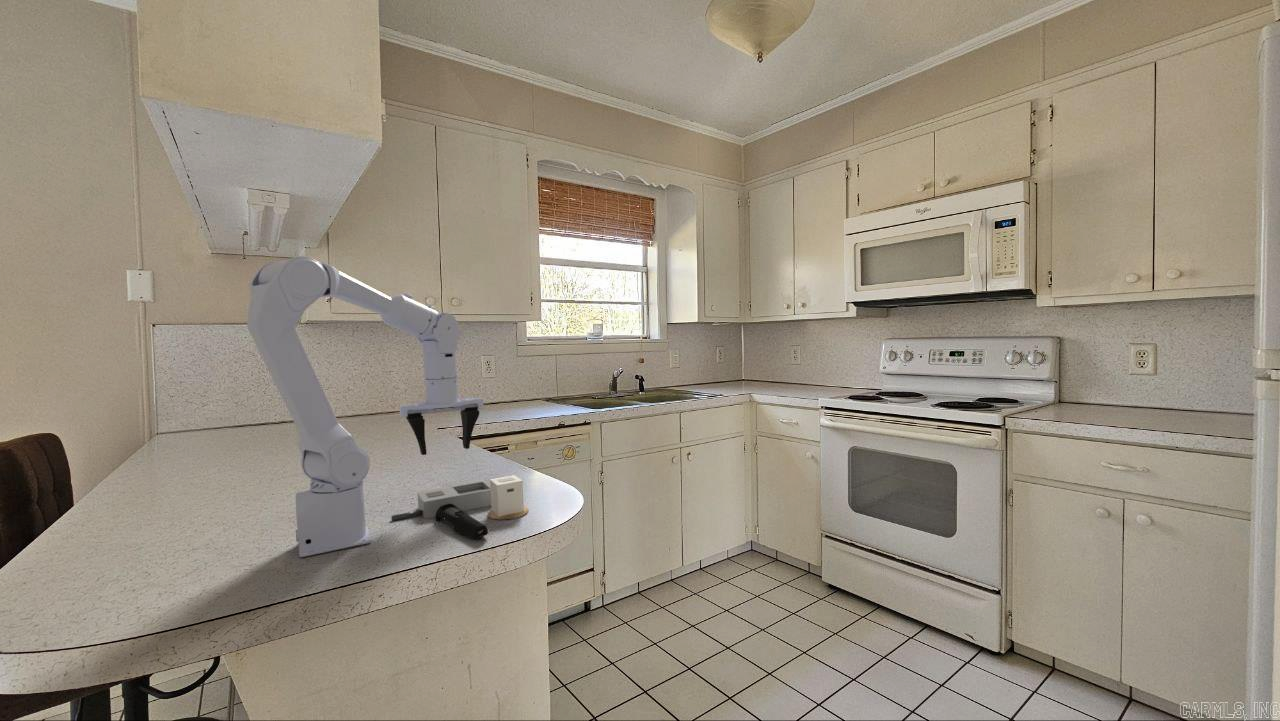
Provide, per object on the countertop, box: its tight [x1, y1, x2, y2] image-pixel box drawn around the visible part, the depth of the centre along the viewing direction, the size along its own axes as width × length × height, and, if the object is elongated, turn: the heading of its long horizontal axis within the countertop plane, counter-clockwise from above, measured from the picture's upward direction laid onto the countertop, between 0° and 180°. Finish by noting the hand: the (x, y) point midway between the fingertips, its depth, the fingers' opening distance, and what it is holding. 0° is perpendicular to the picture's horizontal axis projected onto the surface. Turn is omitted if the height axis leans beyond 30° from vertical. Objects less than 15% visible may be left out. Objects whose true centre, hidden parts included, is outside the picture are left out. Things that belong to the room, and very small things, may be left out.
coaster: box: [487, 504, 529, 521], centre depth 96 cm, size 7×7×1 cm
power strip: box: [390, 477, 501, 522], centre depth 101 cm, size 21×7×4 cm, turn 121°
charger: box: [489, 474, 525, 516], centre depth 96 cm, size 4×5×6 cm
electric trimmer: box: [434, 504, 489, 539], centre depth 89 cm, size 4×16×3 cm, turn 41°
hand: (445, 450), depth 101 cm, fingers open, 7 cm apart
